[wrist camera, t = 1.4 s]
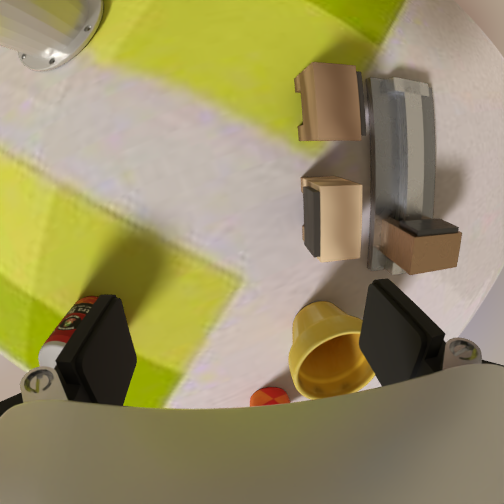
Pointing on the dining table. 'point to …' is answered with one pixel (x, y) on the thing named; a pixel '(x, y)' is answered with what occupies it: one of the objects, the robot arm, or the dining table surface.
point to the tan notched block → (332, 217)
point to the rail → (391, 162)
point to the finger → (331, 103)
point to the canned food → (64, 331)
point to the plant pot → (327, 352)
